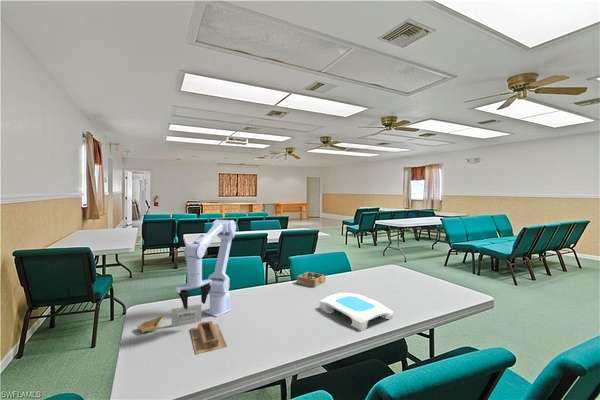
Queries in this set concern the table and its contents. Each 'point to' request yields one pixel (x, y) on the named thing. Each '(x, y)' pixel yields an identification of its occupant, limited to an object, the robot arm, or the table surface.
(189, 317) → the cassette
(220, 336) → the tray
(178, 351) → the table surface
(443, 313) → the table surface
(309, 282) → the deck stand
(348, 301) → the white step stool
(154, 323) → the shard
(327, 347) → the table surface
